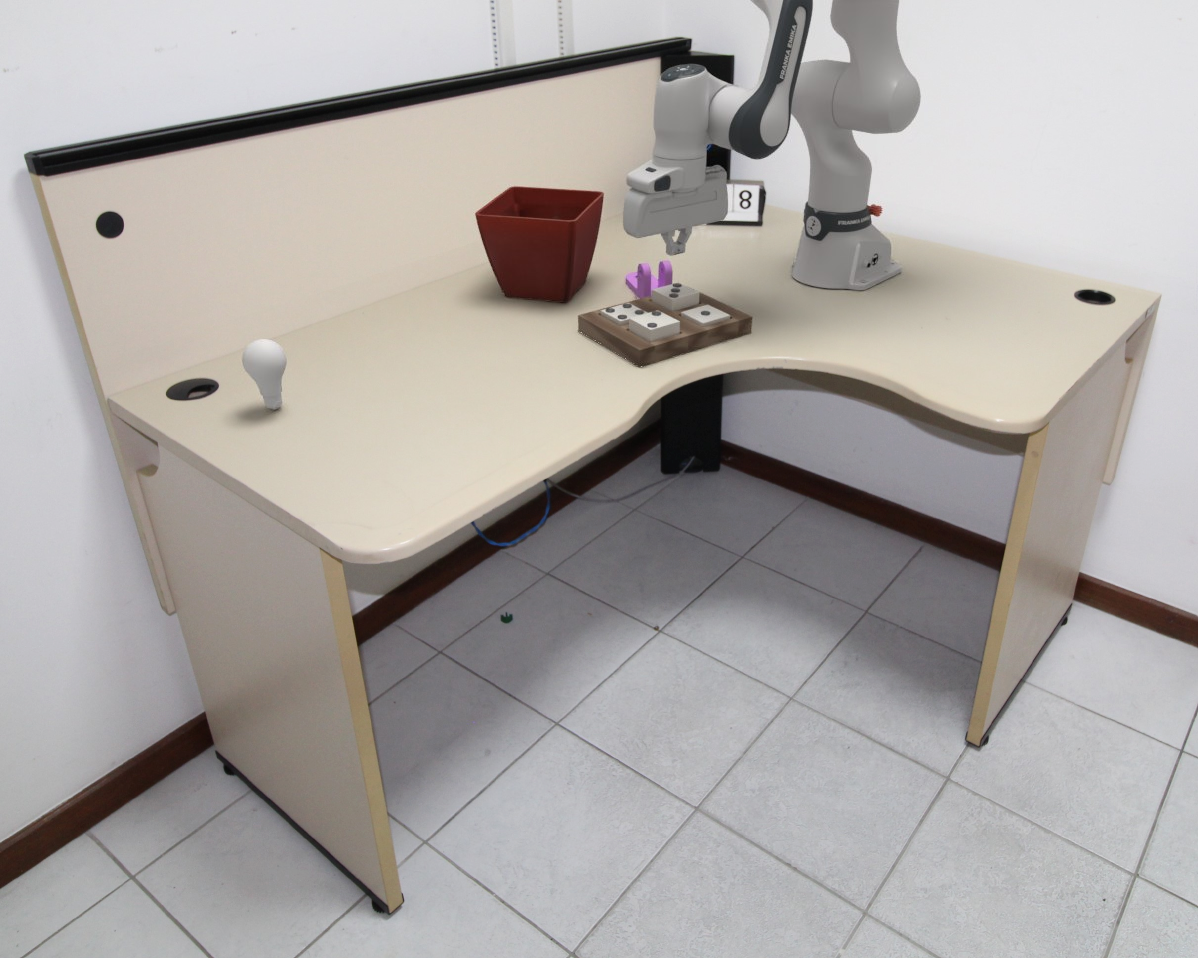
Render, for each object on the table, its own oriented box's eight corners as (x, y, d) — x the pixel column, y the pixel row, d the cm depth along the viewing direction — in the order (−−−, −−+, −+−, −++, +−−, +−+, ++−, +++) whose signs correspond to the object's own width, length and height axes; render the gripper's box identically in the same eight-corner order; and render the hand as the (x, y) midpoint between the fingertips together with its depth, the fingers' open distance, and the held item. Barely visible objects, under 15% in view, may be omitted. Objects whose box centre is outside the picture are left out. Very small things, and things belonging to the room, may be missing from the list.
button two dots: (657, 328, 163) (657, 309, 162) (679, 339, 159) (680, 320, 157) (628, 336, 161) (629, 317, 159) (650, 348, 156) (650, 328, 155)
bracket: (671, 300, 180) (672, 264, 176) (643, 303, 178) (644, 267, 175) (648, 277, 190) (649, 243, 186) (621, 280, 189) (621, 246, 185)
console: (686, 301, 178) (686, 286, 177) (751, 332, 166) (752, 316, 164) (578, 331, 167) (578, 315, 165) (639, 367, 154) (639, 350, 153)
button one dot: (706, 321, 169) (707, 303, 168) (729, 332, 165) (730, 314, 163) (680, 329, 167) (680, 311, 165) (702, 340, 162) (703, 322, 161)
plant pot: (479, 302, 179) (472, 212, 170) (516, 268, 195) (511, 185, 186) (577, 312, 175) (574, 220, 166) (606, 277, 190) (605, 191, 181)
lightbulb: (258, 400, 146) (243, 333, 140) (299, 398, 146) (286, 331, 140) (249, 419, 141) (233, 350, 135) (291, 417, 141) (277, 348, 135)
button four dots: (628, 320, 170) (628, 301, 168) (648, 330, 166) (649, 312, 164) (600, 327, 167) (600, 309, 165) (620, 339, 163) (620, 320, 161)
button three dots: (677, 299, 175) (678, 281, 173) (698, 309, 170) (699, 291, 168) (651, 306, 172) (651, 288, 170) (671, 317, 167) (672, 298, 166)
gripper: (714, 160, 166) (710, 238, 173) (618, 176, 156) (617, 259, 163) (739, 167, 161) (733, 247, 168) (641, 185, 151) (639, 269, 159)
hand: (675, 253), depth 166 cm, fingers closed
